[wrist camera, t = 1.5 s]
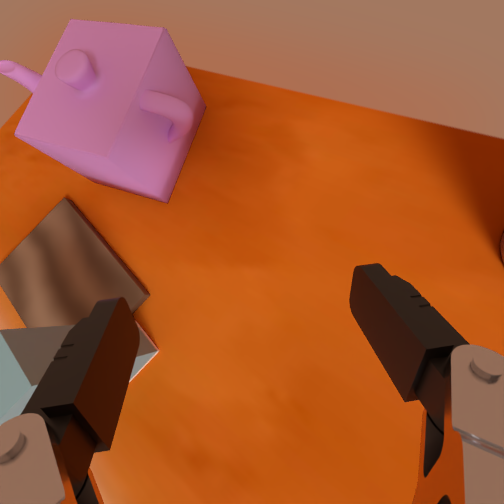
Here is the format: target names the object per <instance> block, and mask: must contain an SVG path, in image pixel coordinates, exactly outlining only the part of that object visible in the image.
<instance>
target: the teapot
mask: <svg viewBox="0 0 504 504" xmlns="http://www.w3.org/2000/svg"><path fill="white" fill-rule="evenodd" d="M0 73H1V74H3V75H5V76H7V77H9V78H11V79H13V80H15V81H17V82H18V83H20V84H21V85H23V86H24V87H26V88H27V89H28V90H30V91H31V92H32V93H33V95H32V97H31V99H30V102H29V104H28V106H27V108H26V110H25V112H24V114H23V116H22V118H21V120H20V122H19V124H18V126H17V129H16V131H15V133H14V135H15V136H16V137H18V138H19V139H21V140H23V141H25V142H26V143H28V144H30V145H31V146H33V147H35V148H37V149H38V150H40V151H42V152H43V153H45V154H47V155H48V156H50V157H52V158H54V159H55V160H57V161H59V162H60V163H62V164H64V165H66V166H67V167H69V168H71V169H72V170H74V171H76V172H77V173H79V174H81V175H83V176H84V177H86V178H88V179H89V180H91V181H93V182H95V183H98V184H102V185H105V186H109V187H112V188H116V189H119V190H123V191H126V192H130V193H133V194H137V195H140V196H144V197H147V198H151V199H154V200H158V201H161V202H164V203H168V202H169V199H170V197H171V194H172V192H173V189H174V187H175V184H176V182H177V179H178V177H179V174H180V172H181V169H182V167H183V164H184V161H185V159H186V156H187V154H188V151H189V149H190V146H191V144H192V141H193V139H194V136H195V134H196V131H197V129H198V126H199V124H200V121H201V119H202V116H203V114H204V111H205V109H206V105H205V103H204V101H203V99H202V97H201V95H200V93H199V91H198V89H197V88H196V86H195V84H194V82H193V80H192V78H191V76H190V74H189V72H188V70H187V68H186V66H185V64H184V62H183V60H182V58H181V56H180V54H179V53H178V51H177V49H176V47H175V45H174V43H173V41H172V39H171V37H170V35H169V33H168V31H167V29H165V28H164V27H150V26H141V25H132V24H122V23H111V22H99V21H85V20H75V19H70V21H69V23H68V25H67V27H66V29H65V31H64V33H63V35H62V37H61V39H60V41H59V43H58V45H57V47H56V49H55V51H54V53H53V55H52V57H51V59H50V61H49V63H48V65H47V67H46V69H45V71H44V73H43V75H40V74H38V73H37V72H35V71H33V70H30V69H28V68H26V67H24V66H22V65H20V64H18V63H16V62H12V61H8V60H1V61H0Z"/></svg>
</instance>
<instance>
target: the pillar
mask: <svg viewBox="0 0 504 504" xmlns="http://www.w3.org/2000/svg"><path fill="white" fill-rule="evenodd" d="M136 324H137V326H138V329H139V333H140V344H139V348H138V352H137V356H136V359H135V363H134V366H133V370H132V373H131V377H130V380H129V382H130V381H131V380H132V379H133V378H134V377H135V376H136V375H137V374H138V373H139V372H140V371H141V370H142V369H143V368H144V366H145V365H146V364H147V363H148V362H149V361H150V360H151V359H152V358H153V357H154V356H155V355H156V354H157V353H158V352H159V351H160V350H159V349H158V348H157V347H156V345H155V344H154V343H153V341H152V340H151V339H150V338H149V336H148V335H147V334H146V333H145V331H144V330H143V329H142V328H141V326H140V325H139V324H138V322H137V321H136ZM74 326H75V325H65V326H50V327H35V328H21V329H6V330H0V425H1V424H3V423H4V422H6V421H8V420H10V419H12V418H14V417H16V416H19V415H20V414H21V413H22V411H23V410H24V408H25V406H26V405H27V403H28V401H29V399H30V398H31V396H32V394H33V392H34V391H35V389H36V387H37V386H38V384H39V382H40V380H41V379H42V377H43V375H44V373H45V372H46V370H47V368H48V367H49V365H50V363H51V361H54V356H55V355H56V353H57V351H58V349H60V348H61V344H62V342H63V341H64V339H65V337H66V336H67V334H68V332H69V331H70V330H71V329H72V328H73V327H74Z"/></svg>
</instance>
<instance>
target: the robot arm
mask: <svg viewBox="0 0 504 504" xmlns="http://www.w3.org/2000/svg"><path fill="white" fill-rule="evenodd" d="M501 256H502V260H503V262H504V233H503V235H502V239H501ZM349 302H350V308H351V312H352V314H353V316H354V318H355V320H356V321H357V323H358V325H359V326H360V328H361V330H362V331H363V333H364V335H365V336H366V338H367V340H368V341H369V343H370V345H371V346H372V348H373V350H374V351H375V353H376V355H377V356H378V358H379V360H380V361H381V363H382V365H383V366H384V368H385V370H386V371H387V373H388V375H389V377H390V378H391V380H392V382H393V383H394V385H395V387H396V388H397V390H398V392H399V393H400V395H401V397H402V398H403V400H404V402H408V401H414V400H420V402H421V403H422V405H423V406H424V408H425V409H424V411H423V415H422V429H421V443H420V458H419V472H418V482H417V488H416V492H415V495H414V499H413V503H412V504H504V357H503V356H502V355H500V354H498V353H496V352H494V351H492V350H490V349H487V348H484V347H481V346H477V345H470V344H469V343H468V342H467V341H466V340H465V339H464V338H463V337H462V336H461V335H460V334H459V333H458V332H457V331H456V330H455V329H454V328H453V327H452V326H451V325H450V324H449V323H448V322H447V321H446V320H445V319H444V318H443V317H442V316H441V314H440V313H439V312H438V311H437V310H436V309H435V308H434V307H433V306H432V307H431V306H430V303H429V302H428V301H427V300H426V299H425V298H424V297H422V296H421V294H420V293H419V292H418V291H417V290H416V289H415V288H414V287H413V286H412V285H411V284H410V283H408V282H406V281H405V280H403V279H401V278H400V277H398V276H396V275H395V276H391V275H390V274H389V273H388V272H387V271H386V270H385V269H384V267H383V266H382V265H380V264H378V263H375V264H368V265H360V266H356V267H355V269H354V272H353V279H352V285H351V292H350V299H349ZM139 344H140V333H139V329H138V326H137V324H136V321H135V319H134V317H133V315H132V312H131V310H130V308H129V305H128V303H127V301H126V299H125V298H124V297H119V298H111V299H104V300H99V301H97V302H96V304H95V306H94V308H93V309H92V311H91V313H90V315H89V317H86V318H82V319H81V320H80V321H79V322H78V323H77V324H76V325H75V326H74V327H73V328H72V329H71V330H70V331H69V332H68V334H67V336H66V337H65V339H64V341H63V342H62V344H61V348H60V349H58V351H57V353H56V355H55V356H54V361H51V363H50V365H49V367H48V368H47V370H46V372H45V373H44V375H43V377H42V379H41V380H40V382H39V384H38V386H37V387H36V389H35V391H34V392H33V394H32V396H31V398H30V399H29V401H28V403H27V405H26V406H25V408H24V410H23V411H22V413H21V414H20V415H19V416H16V417H14V418H12V419H10V420H8V421H6V422H4V423H3V424H1V425H0V504H104V502H103V500H102V497H101V495H100V492H99V489H98V487H97V484H96V481H95V479H94V476H93V473H92V471H91V469H90V468H89V466H90V463H91V460H92V457H93V454H94V453H96V452H102V451H108V450H110V448H111V444H112V441H113V437H114V434H115V430H116V427H117V423H118V420H119V416H120V412H121V409H122V405H123V402H124V398H125V395H126V391H127V388H128V384H129V380H130V377H131V373H132V370H133V366H134V363H135V359H136V356H137V352H138V348H139Z"/></svg>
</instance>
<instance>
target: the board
mask: <svg viewBox="0 0 504 504" xmlns="http://www.w3.org/2000/svg"><path fill="white" fill-rule="evenodd" d="M0 285H1V287H2V289H3V290H4V292H5V293H6V295H7V297H8V298H9V300H10V301H11V303H12V305H13V306H14V308H15V309H16V311H17V313H18V314H19V316H20V317H21V319H22V321H23V322H24V324H25V325H26V327H27V328H35V327H50V326H65V325H76V324H77V323H78V322H79V321H80V320H81V319H82V318H86V317H89V315H90V313H91V311H92V309H93V308H94V306H95V304H96V302H97V301H99V300H104V299H111V298H119V297H124V298H125V299H126V301H127V303H128V305H129V308H130V310H131V312H132V314H133V313H134V312H135V311H136V310H137V309H138V307H139V306H140V305H141V304H142V303H143V302H144V301H145V300H146V299H147V298H148V297H149V296H150V294H149V293H148V292H147V291H146V289H145V288H144V287H143V286H142V285H141V283H140V282H139V281H138V280H137V279H136V277H135V276H134V275H133V274H132V273H131V271H130V270H129V269H128V268H127V267H126V265H125V264H124V263H123V262H122V261H121V260H120V258H119V257H118V256H117V255H116V254H115V252H114V251H113V250H112V249H111V248H110V246H109V245H108V244H107V243H106V242H105V240H104V239H103V238H102V237H101V236H100V234H99V233H98V232H97V231H96V230H95V228H94V227H93V226H92V225H91V224H90V222H89V221H88V220H87V219H86V218H85V216H84V215H83V214H82V213H81V212H80V211H79V209H78V208H77V207H76V206H75V205H74V203H73V202H72V201H71V200H69V199H67V198H63V199H62V200H61V201H60V202H59V203H58V205H57V206H56V207H55V208H54V209H53V210H52V211H51V212H50V213H49V214H48V215H47V216H46V217H45V218H44V219H43V220H42V221H41V222H40V223H39V224H38V225H37V226H36V228H35V229H34V230H33V231H32V232H31V233H30V234H29V235H28V236H27V237H26V238H25V239H24V240H23V241H22V242H21V243H20V244H19V245H18V246H17V247H16V248H15V249H14V251H13V252H12V253H11V254H10V255H9V256H8V257H7V258H6V259H5V260H4V261H3V262H2V263H1V264H0Z"/></svg>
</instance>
